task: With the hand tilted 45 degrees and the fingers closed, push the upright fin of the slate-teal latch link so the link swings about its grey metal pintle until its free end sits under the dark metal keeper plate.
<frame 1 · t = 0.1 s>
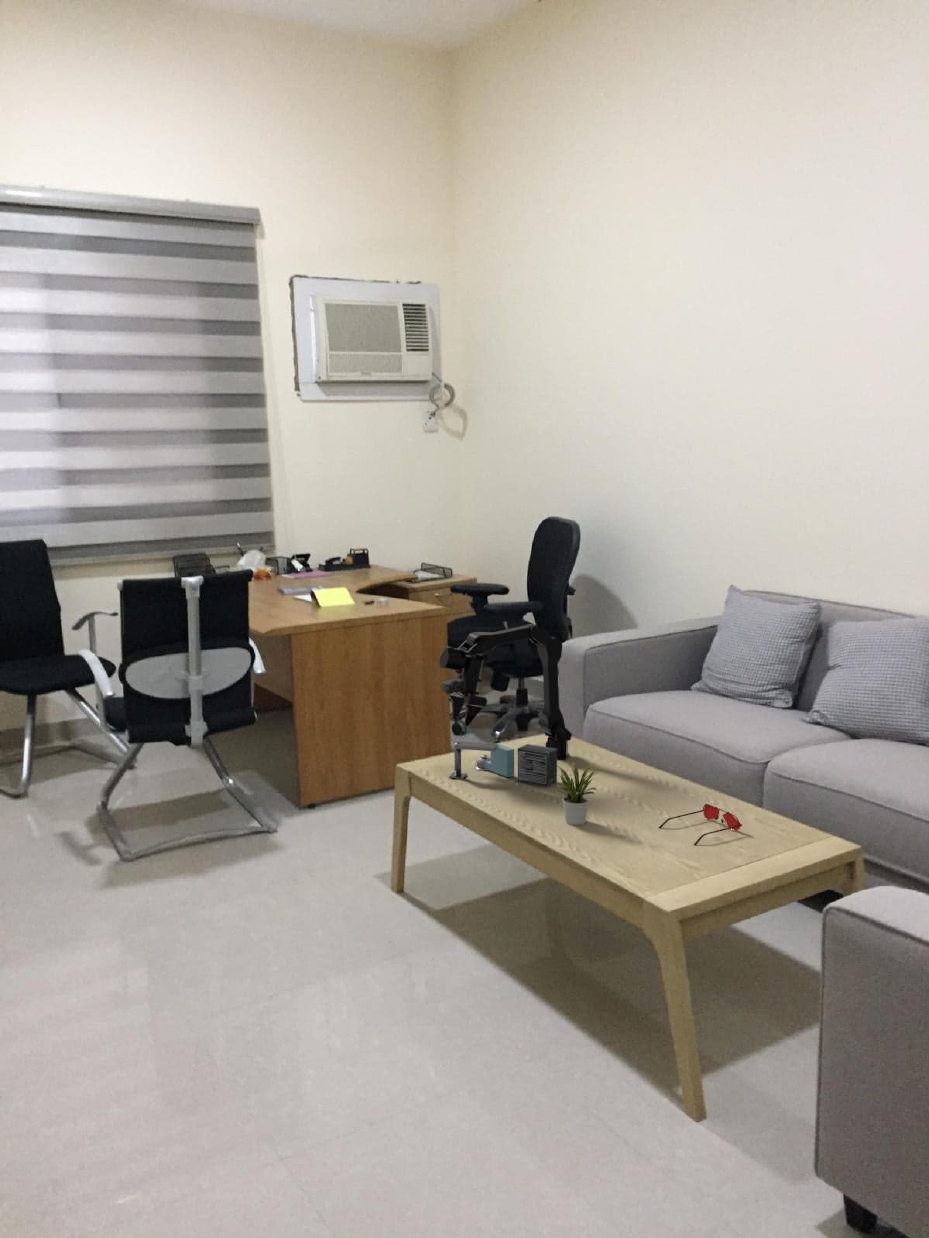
hand: (460, 722, 311), 15 cm above the table, tool pointing down, fingers open, 9 cm apart
glasses: (699, 833, 261), on the table
small box: (537, 782, 302), on the table
house plant: (580, 821, 268), on the table
pintle: (484, 767, 316), on the table
link: (494, 757, 311), point 5 cm above the table, hinge at 0.0°
keeper: (473, 761, 305), on the table
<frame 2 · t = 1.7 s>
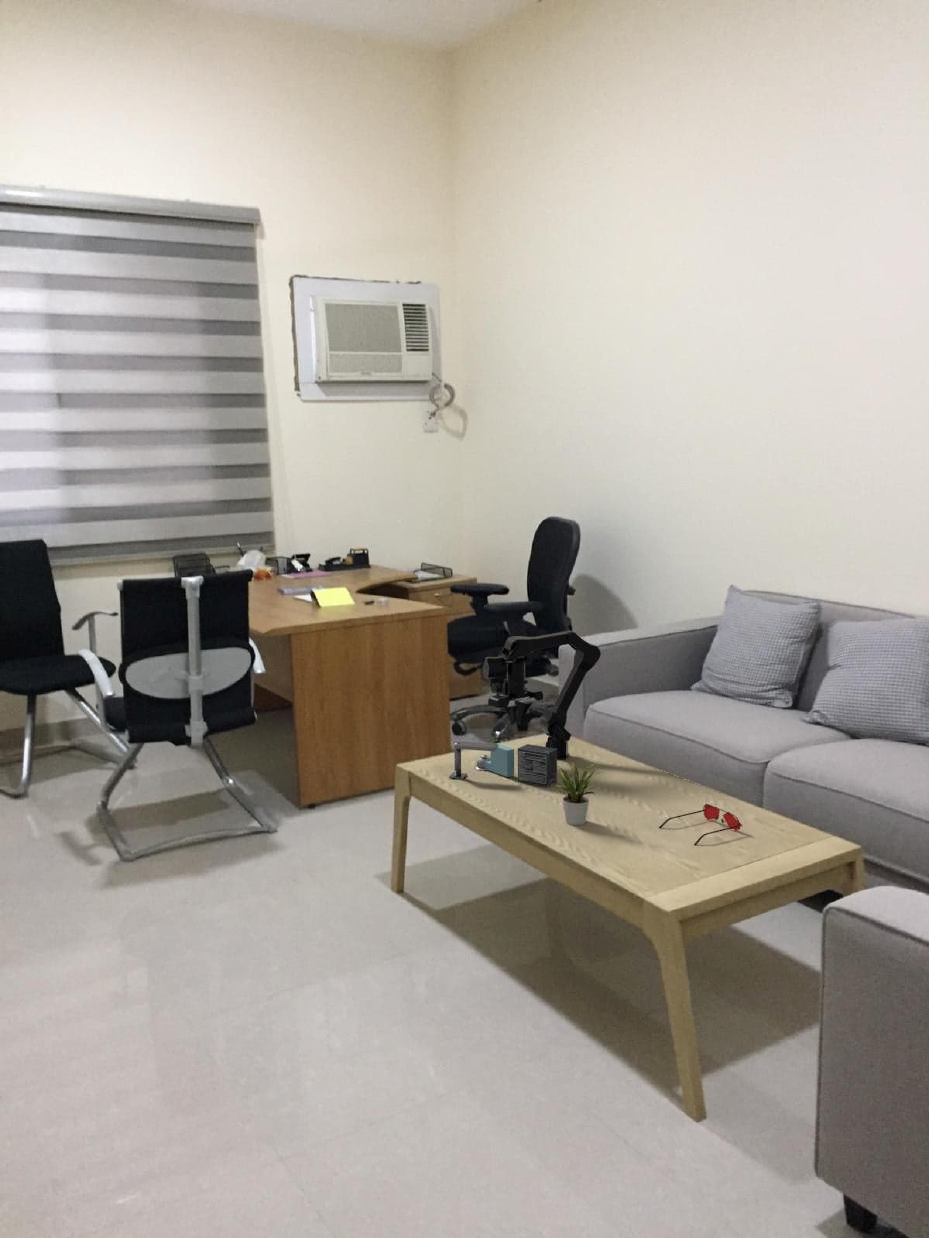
hand: (516, 724, 321), 12 cm above the table, tool pointing down, fingers closed
nothing on the table moved.
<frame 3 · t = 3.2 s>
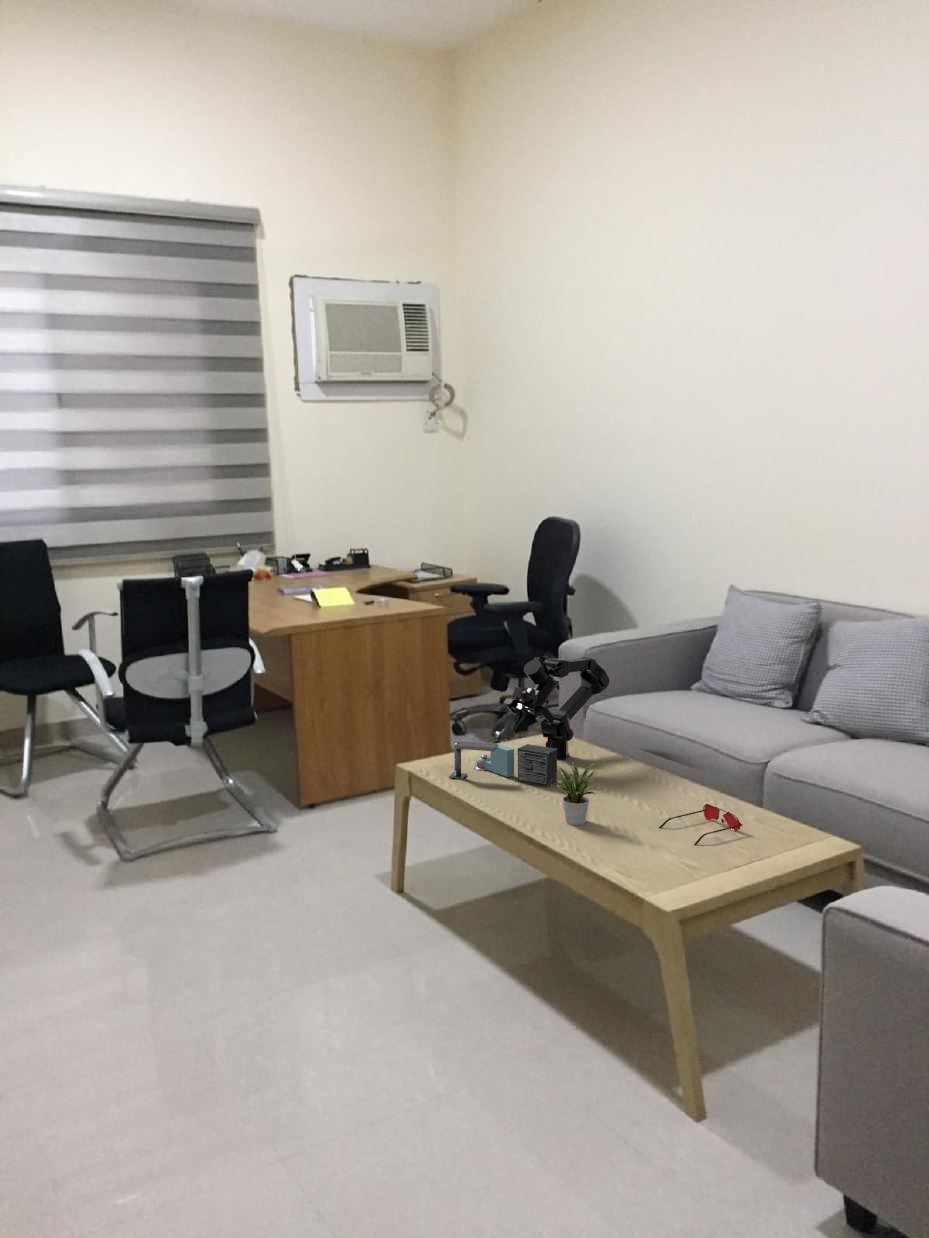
hand: (514, 732, 313), 12 cm above the table, tool tilted 45°, fingers closed
nothing on the table moved.
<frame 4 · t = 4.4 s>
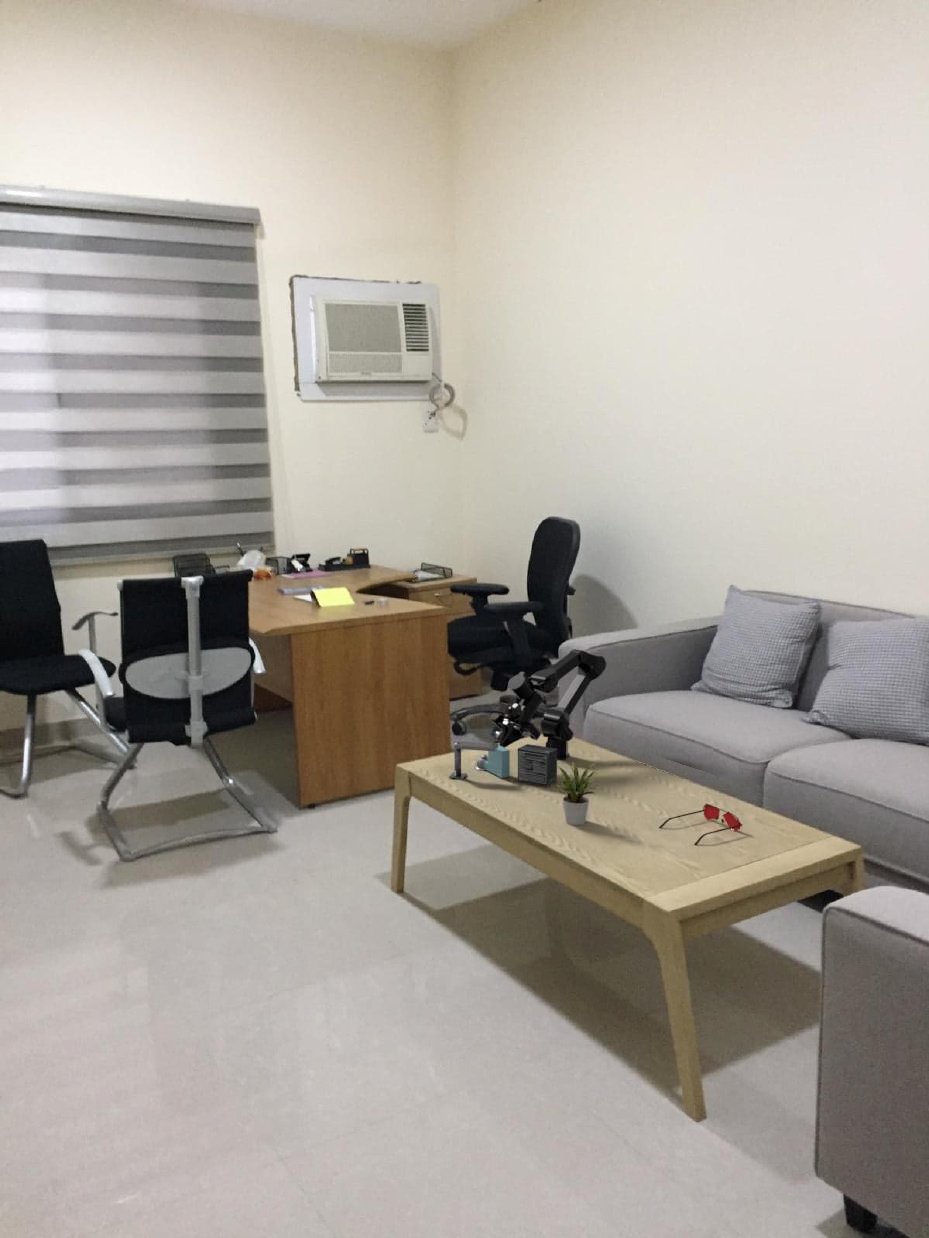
hand: (500, 748, 310), 8 cm above the table, tool tilted 45°, fingers closed, pressing on link
link: (492, 757, 311), point 5 cm above the table, hinge at 8.4°, touching gripper
everything else where it was.
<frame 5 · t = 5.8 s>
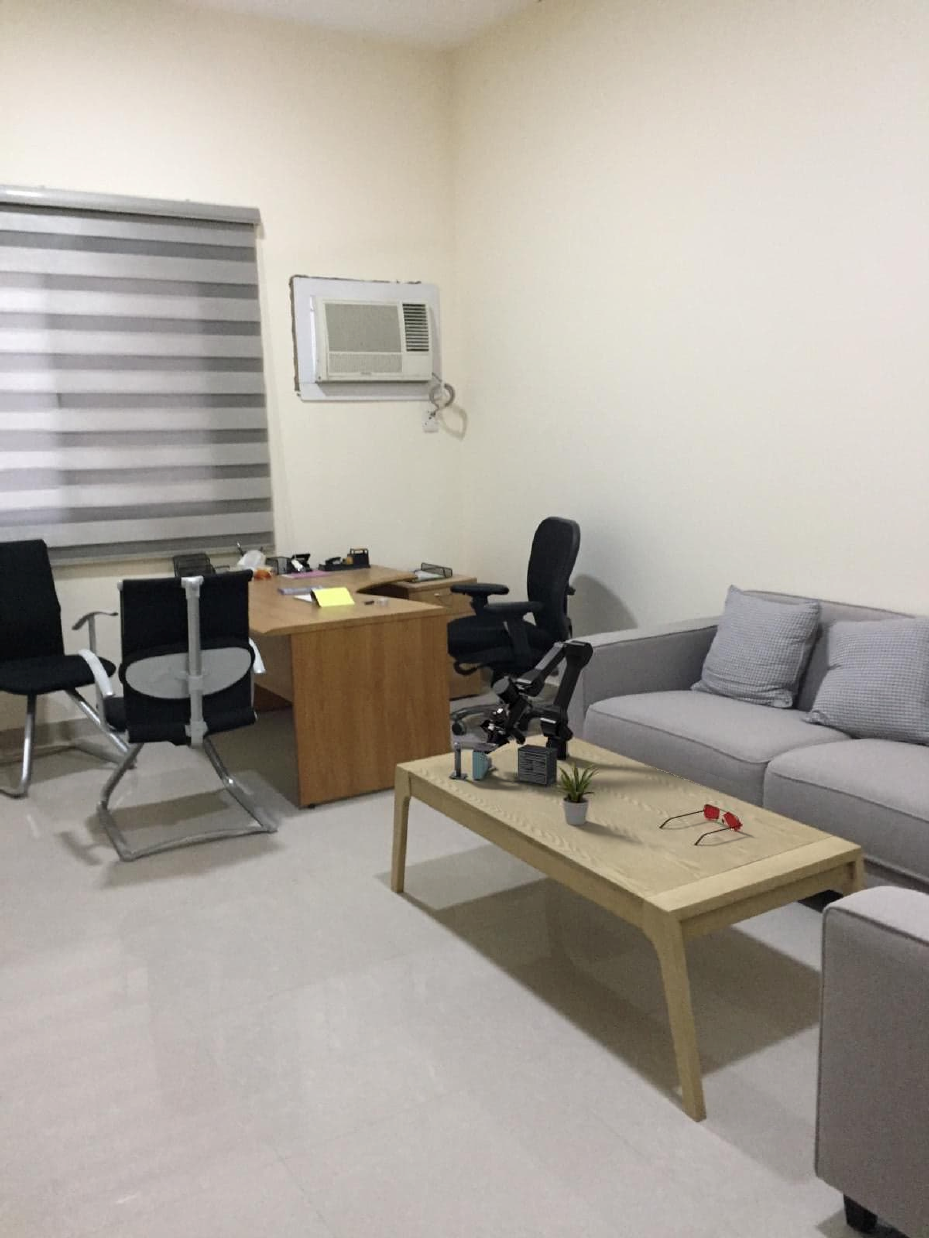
hand: (485, 753, 307), 7 cm above the table, tool tilted 45°, fingers closed
link: (481, 758, 310), point 5 cm above the table, hinge at 47.7°, touching gripper
everything else where it was.
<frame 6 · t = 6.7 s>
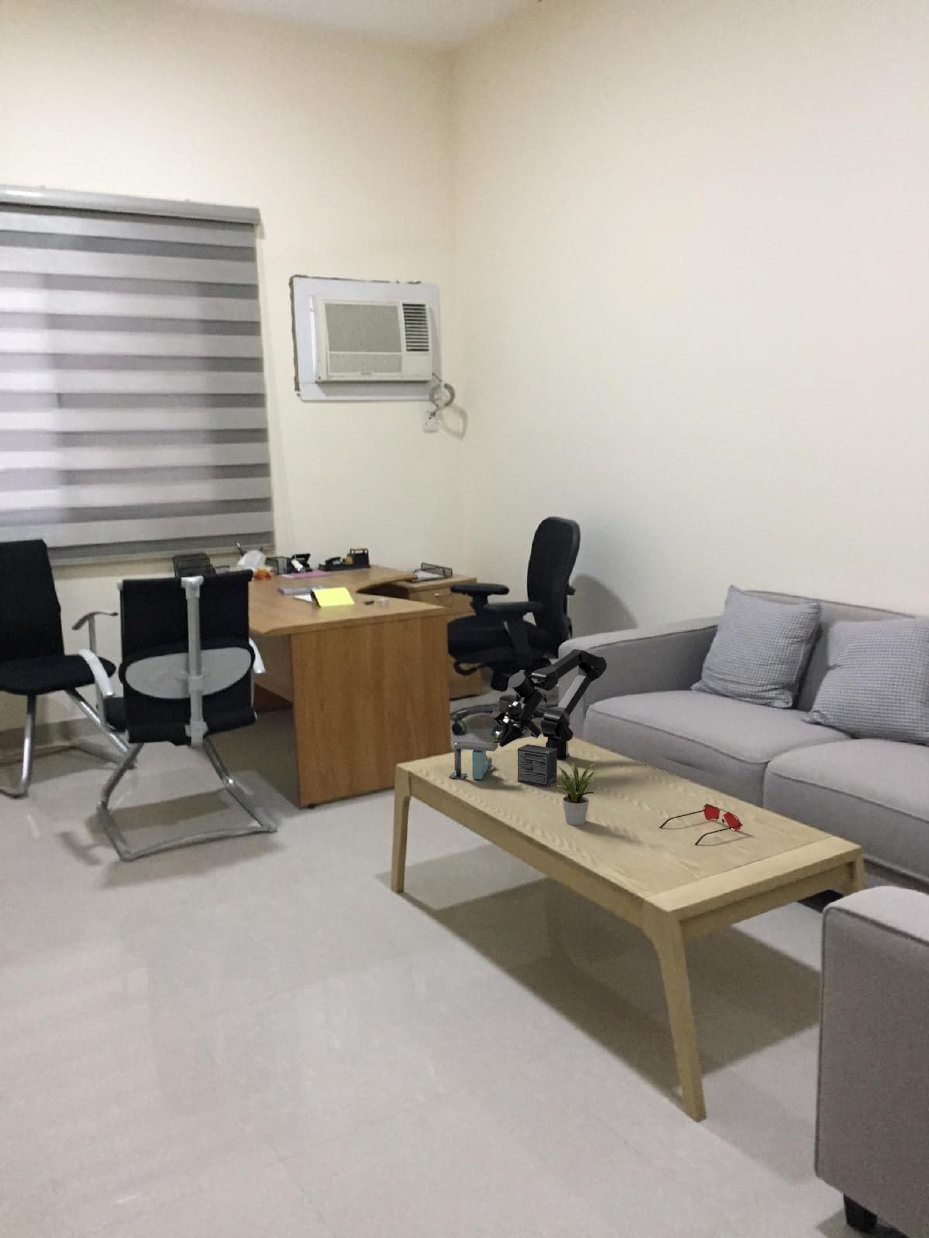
hand: (500, 746, 310), 8 cm above the table, tool tilted 45°, fingers closed
link: (481, 758, 310), point 5 cm above the table, hinge at 47.8°
everything else where it was.
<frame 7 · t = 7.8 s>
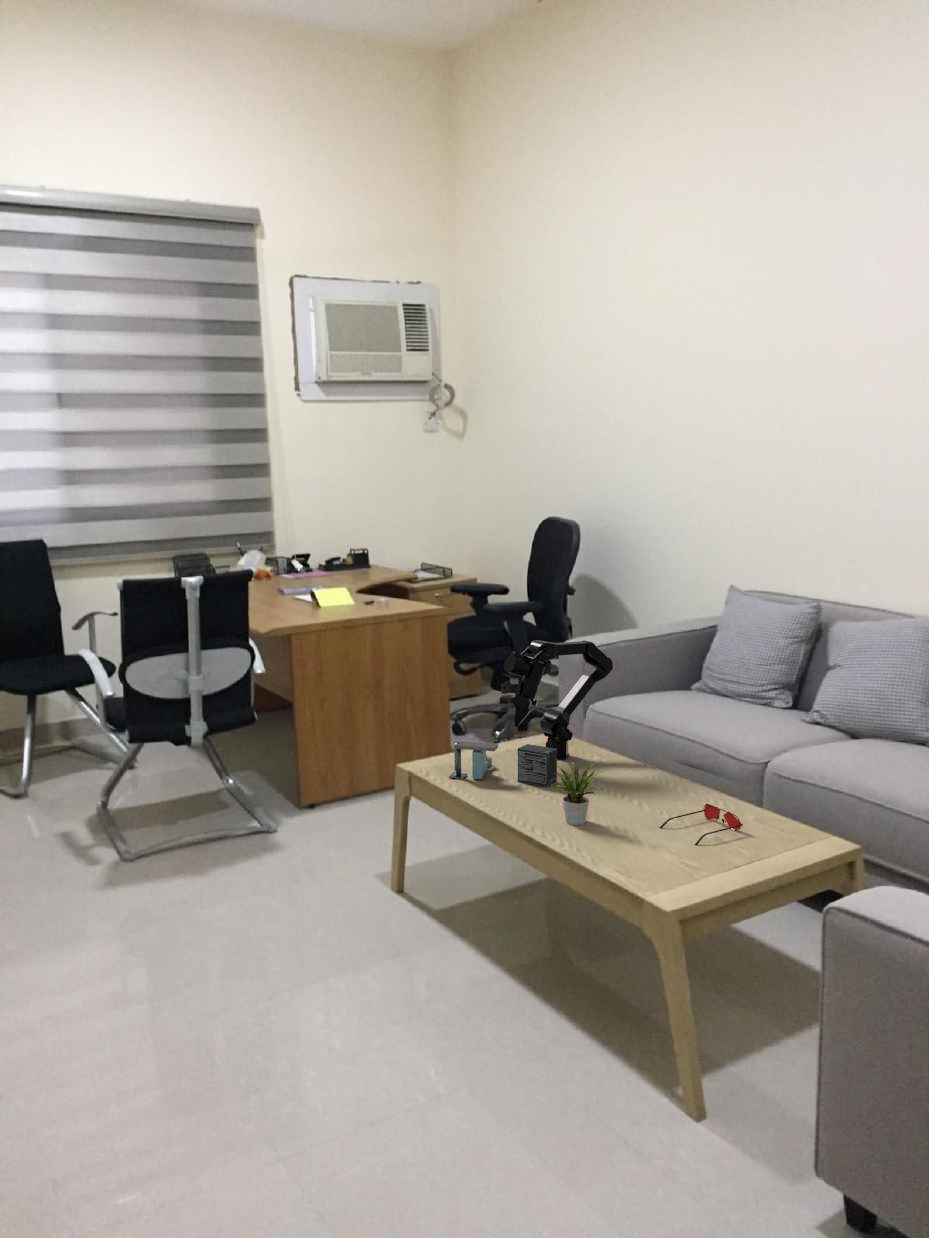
hand: (516, 726, 318), 12 cm above the table, tool tilted 20°, fingers closed
nothing on the table moved.
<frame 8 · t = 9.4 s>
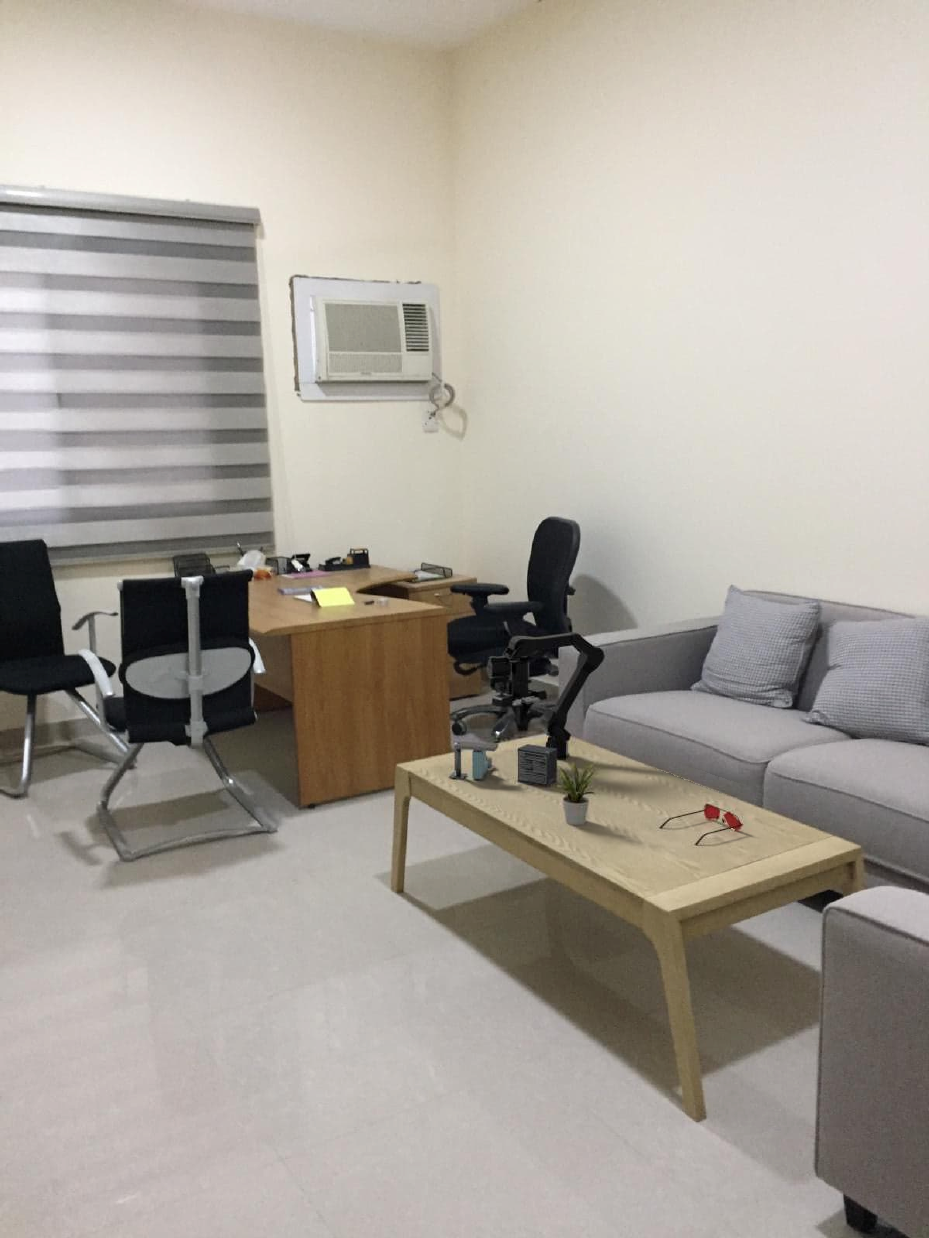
hand: (519, 723, 322), 12 cm above the table, tool pointing down, fingers closed
nothing on the table moved.
at the end: link at +48° (first picture: +0°) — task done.
